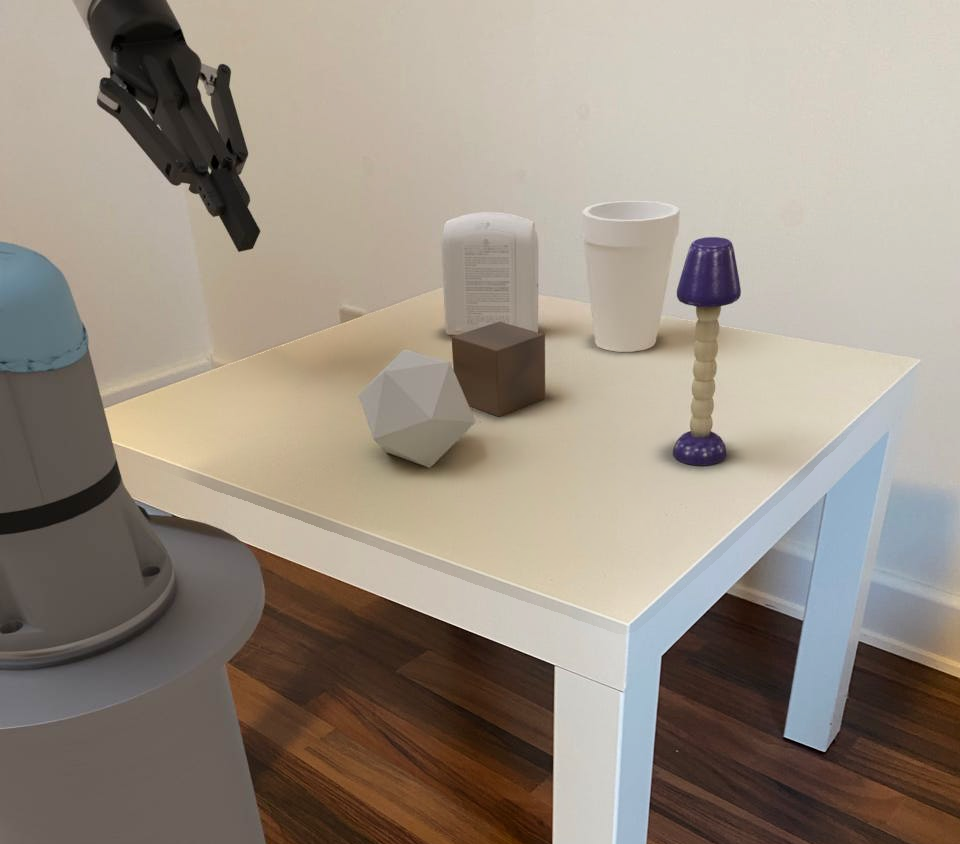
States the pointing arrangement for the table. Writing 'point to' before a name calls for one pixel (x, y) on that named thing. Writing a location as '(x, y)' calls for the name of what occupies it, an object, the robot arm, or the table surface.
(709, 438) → the toy lamp
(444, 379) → the die
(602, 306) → the foam cup
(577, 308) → the table surface
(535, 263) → the white boxy piece
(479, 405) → the walnut block
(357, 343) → the table surface
